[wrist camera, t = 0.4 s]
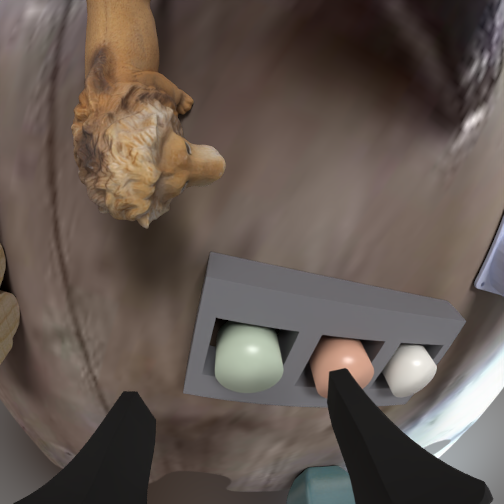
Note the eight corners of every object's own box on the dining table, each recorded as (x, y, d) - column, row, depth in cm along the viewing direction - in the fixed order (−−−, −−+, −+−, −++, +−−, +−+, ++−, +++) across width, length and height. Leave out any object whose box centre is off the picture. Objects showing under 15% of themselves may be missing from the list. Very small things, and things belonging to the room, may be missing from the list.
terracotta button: (369, 332, 20) (384, 361, 17) (345, 370, 21) (356, 399, 18) (320, 326, 19) (332, 358, 16) (299, 367, 20) (307, 398, 18)
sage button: (285, 321, 18) (293, 354, 16) (267, 363, 20) (271, 396, 17) (223, 310, 18) (222, 343, 15) (211, 355, 19) (209, 388, 17)
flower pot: (300, 461, 31) (310, 517, 23) (355, 457, 33) (369, 507, 25) (278, 482, 35) (284, 530, 27) (328, 479, 36) (337, 523, 28)
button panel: (447, 301, 21) (466, 321, 18) (394, 382, 25) (405, 404, 22) (210, 251, 18) (206, 276, 15) (187, 364, 22) (183, 392, 19)
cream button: (428, 338, 21) (445, 361, 18) (405, 372, 22) (418, 395, 19) (394, 335, 20) (411, 361, 17) (370, 371, 21) (383, 398, 19)
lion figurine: (234, 167, 16) (234, 221, 8) (144, 192, 16) (70, 265, 8) (178, -47, 10) (144, -134, 1) (95, -16, 10) (19, -72, 2)
